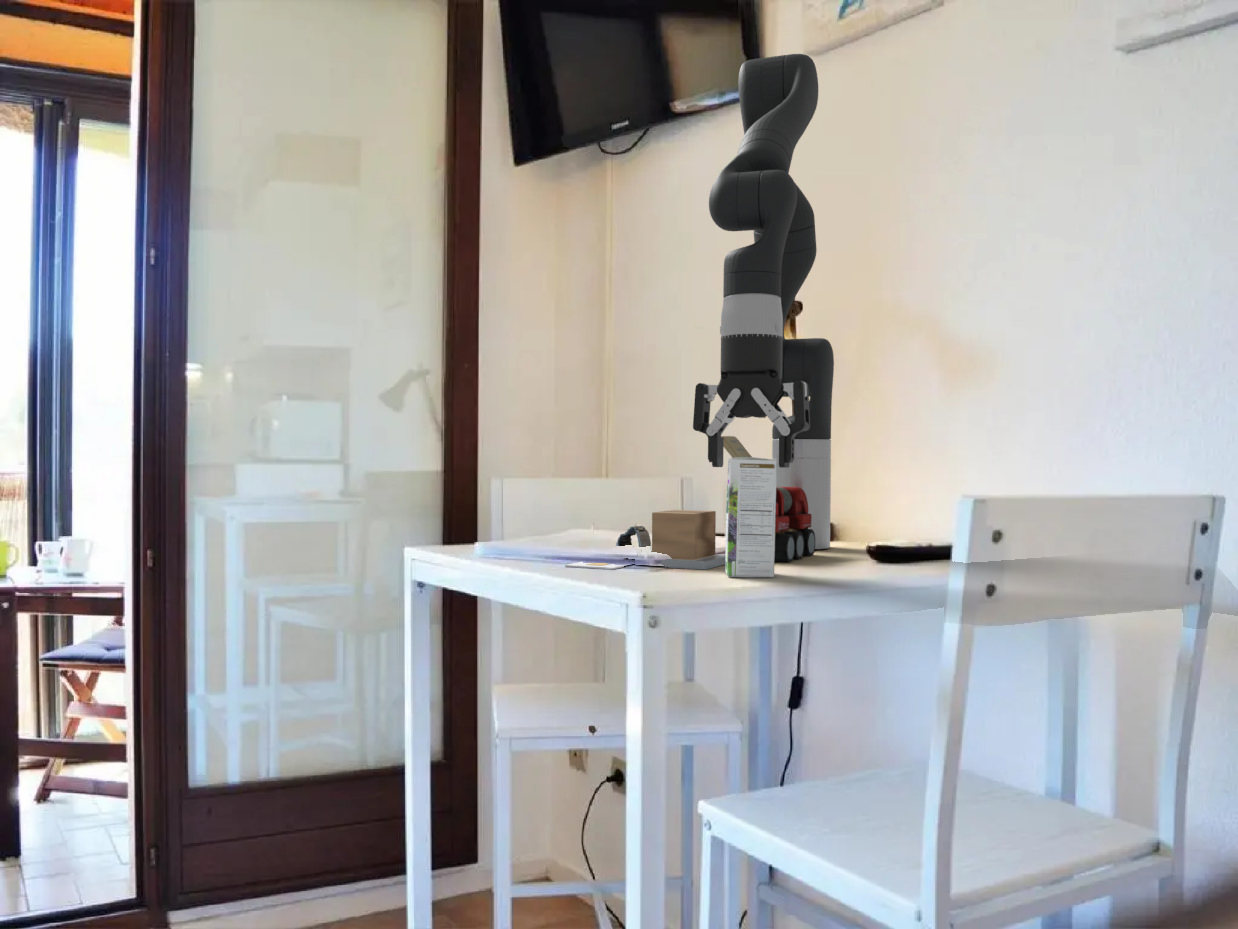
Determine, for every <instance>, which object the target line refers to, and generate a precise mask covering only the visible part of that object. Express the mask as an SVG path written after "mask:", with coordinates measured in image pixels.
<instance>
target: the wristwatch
mask: <svg viewBox="0 0 1238 929" xmlns="http://www.w3.org/2000/svg"><path fill="white" fill-rule="evenodd" d="M633 536H636V537H637V543H638V548H639V547H646V546H650V547H652V539H651V536H650V533H649V531H648V530H647V529H646V527H645V526H643V525H634V526H630V527H629V528H628V529H627V530H626V531H625V532H624V533H620V534H619V536H618V538H617V541H616V543H615V547H616V546H625V545H633V543H632V540H633V539H632V537H633Z"/></svg>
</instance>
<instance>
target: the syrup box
mask: <svg viewBox="0 0 1238 929" xmlns="http://www.w3.org/2000/svg"><path fill="white" fill-rule="evenodd" d="M776 462H777V461H776V459H772V458H765V457H754V456H752V457H737V458H732V457H729V458H728V460H727V481H726V482H727V485H726V487H727V488H726V510H725V512H726V513H725V552H724V553H725V554H724V555H725V565H724V570H725V573H726V576H728V578H775V562H776V561H775V513H776Z"/></svg>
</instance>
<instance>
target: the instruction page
mask: <svg viewBox="0 0 1238 929" xmlns="http://www.w3.org/2000/svg"><path fill="white" fill-rule="evenodd" d="M624 566H625V565H615V564H607V563H583V561H579V562H574V563H568V564H564V568H565V567H567V568H568V567H569V568H582V569H584V568H585V569H598V570H599V569H600V570H601V569H602V570H617V569H621V568H625V567H624Z"/></svg>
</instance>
